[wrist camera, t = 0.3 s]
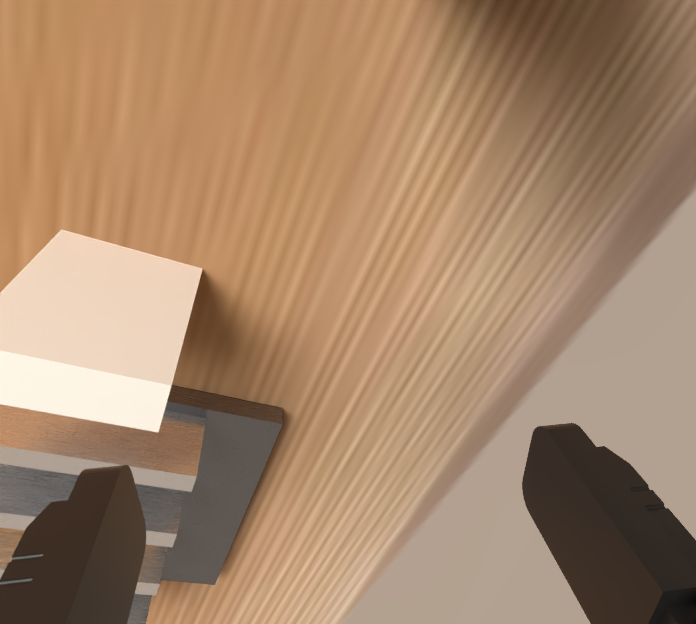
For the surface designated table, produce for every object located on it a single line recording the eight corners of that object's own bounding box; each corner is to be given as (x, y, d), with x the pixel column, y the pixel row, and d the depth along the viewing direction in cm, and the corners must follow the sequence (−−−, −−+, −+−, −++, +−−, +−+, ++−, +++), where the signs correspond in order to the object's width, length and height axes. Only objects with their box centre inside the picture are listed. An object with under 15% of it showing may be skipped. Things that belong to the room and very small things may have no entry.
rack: (-104, 328, 27) (-352, 536, 16) (282, 408, 33) (287, 596, 22) (-98, 532, 34) (-265, 768, 23) (216, 566, 40) (197, 764, 30)
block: (61, 229, 25) (-47, 340, 17) (202, 268, 27) (171, 385, 19) (55, 270, 26) (-48, 395, 18) (192, 305, 28) (158, 432, 20)
